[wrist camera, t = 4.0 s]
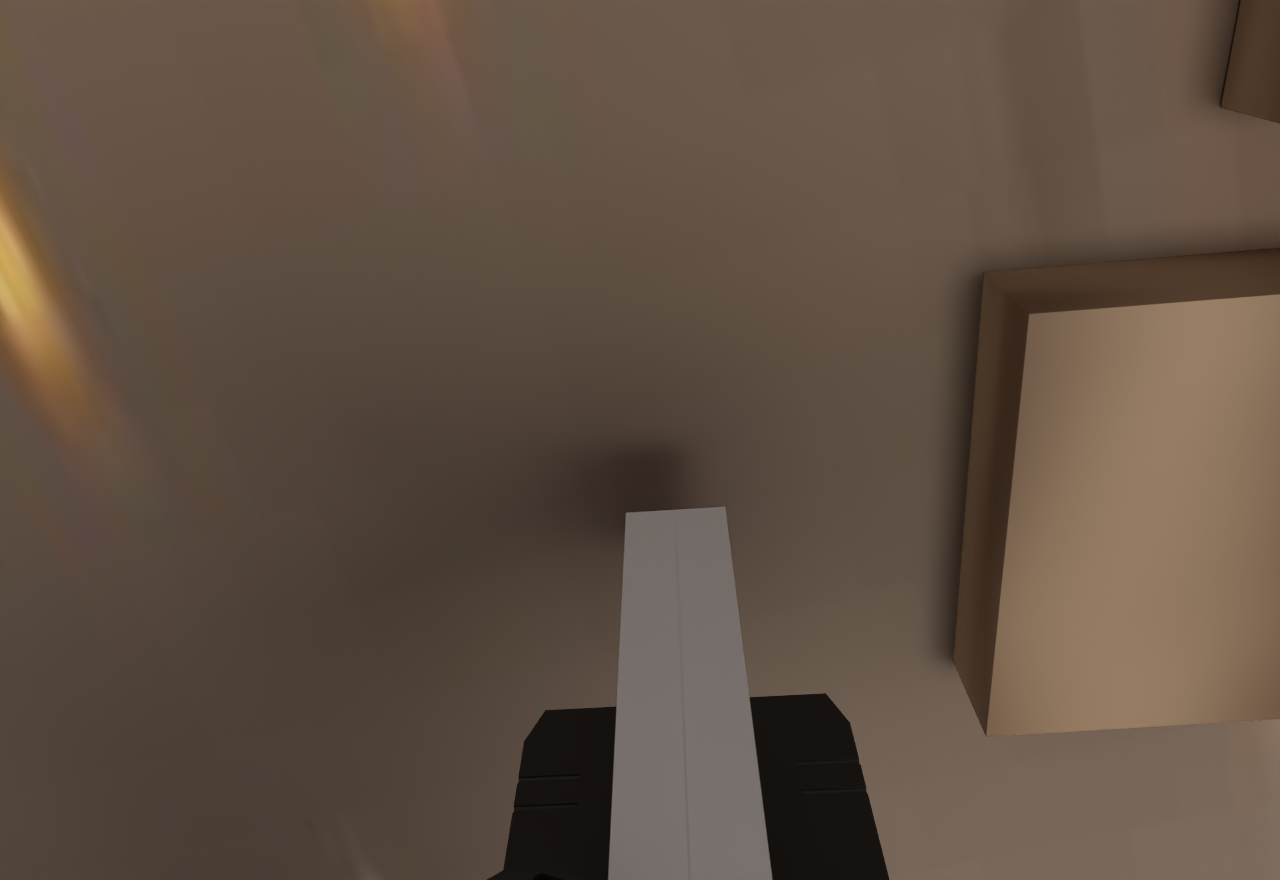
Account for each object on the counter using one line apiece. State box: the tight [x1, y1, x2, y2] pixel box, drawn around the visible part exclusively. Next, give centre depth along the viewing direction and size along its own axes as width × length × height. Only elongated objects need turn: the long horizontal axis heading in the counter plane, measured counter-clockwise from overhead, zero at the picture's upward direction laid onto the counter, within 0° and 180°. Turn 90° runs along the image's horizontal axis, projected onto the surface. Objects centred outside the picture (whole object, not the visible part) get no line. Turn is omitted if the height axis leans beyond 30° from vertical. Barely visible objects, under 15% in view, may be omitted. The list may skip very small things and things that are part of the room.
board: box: [953, 248, 1280, 737], centre depth 16 cm, size 10×8×2 cm
